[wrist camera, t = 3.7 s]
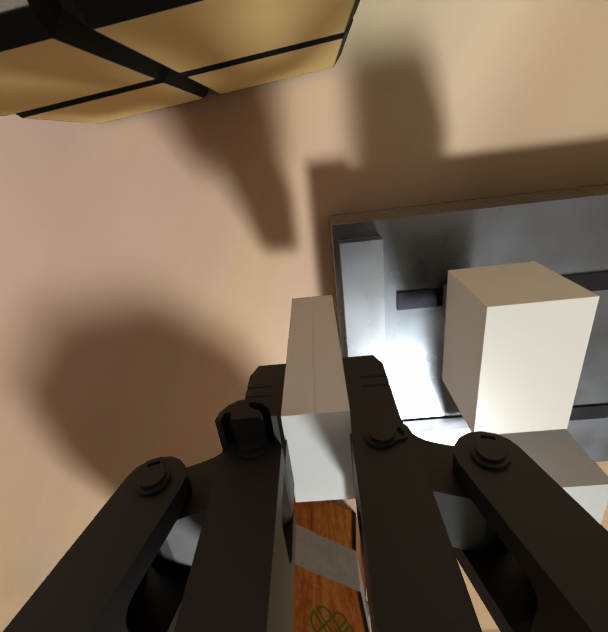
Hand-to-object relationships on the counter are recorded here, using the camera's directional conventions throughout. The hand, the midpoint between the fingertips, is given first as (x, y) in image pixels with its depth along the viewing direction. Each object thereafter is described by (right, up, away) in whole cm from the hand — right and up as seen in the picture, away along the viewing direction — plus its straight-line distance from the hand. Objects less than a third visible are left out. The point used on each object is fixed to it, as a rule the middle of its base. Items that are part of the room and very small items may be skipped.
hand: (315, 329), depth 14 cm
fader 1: (+6, +1, +1) cm, 6 cm away
